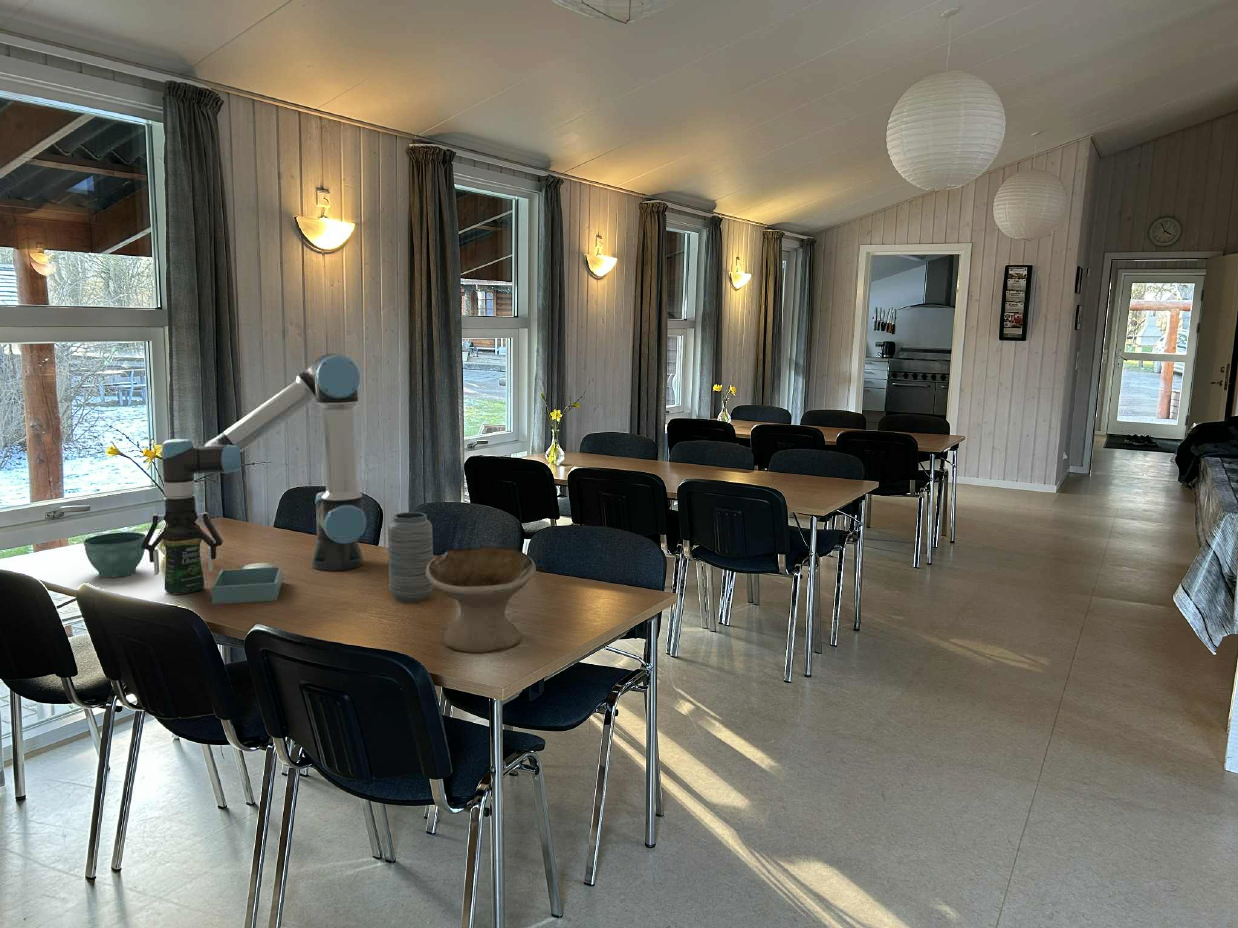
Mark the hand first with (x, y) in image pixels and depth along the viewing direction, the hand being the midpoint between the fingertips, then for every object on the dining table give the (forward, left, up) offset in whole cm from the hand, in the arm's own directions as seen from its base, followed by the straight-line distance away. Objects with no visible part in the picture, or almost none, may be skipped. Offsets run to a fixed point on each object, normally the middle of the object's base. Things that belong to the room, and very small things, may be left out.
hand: (184, 572), depth 257 cm
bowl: (-74, +60, -6) cm, 95 cm away
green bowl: (+22, -23, -6) cm, 32 cm away
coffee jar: (0, 0, -6) cm, 6 cm away
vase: (-60, +21, -6) cm, 64 cm away
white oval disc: (-18, -10, -6) cm, 21 cm away
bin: (-17, +6, -5) cm, 19 cm away
